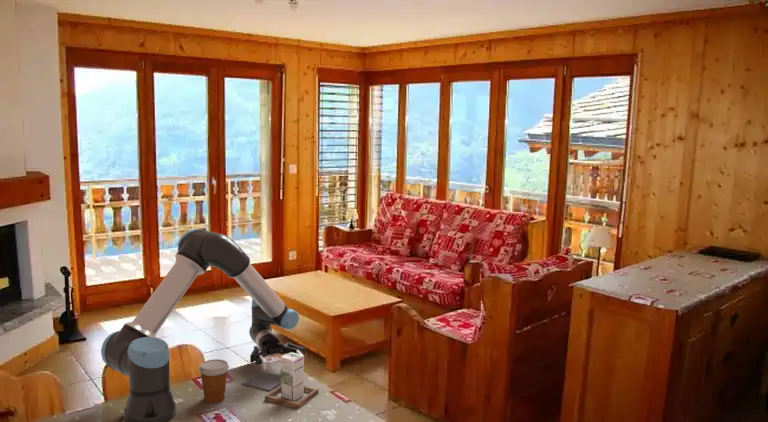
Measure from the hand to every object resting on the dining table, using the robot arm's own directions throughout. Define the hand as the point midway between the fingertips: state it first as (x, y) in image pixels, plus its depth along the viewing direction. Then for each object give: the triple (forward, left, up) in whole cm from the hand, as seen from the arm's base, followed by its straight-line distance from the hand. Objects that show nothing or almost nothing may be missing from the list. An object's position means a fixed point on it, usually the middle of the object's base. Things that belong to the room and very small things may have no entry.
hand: (284, 362), depth 207 cm
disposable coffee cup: (-15, -19, -9) cm, 26 cm away
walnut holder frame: (+7, -6, -8) cm, 13 cm away
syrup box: (+7, -6, -9) cm, 13 cm away
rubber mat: (-8, 0, -8) cm, 12 cm away
